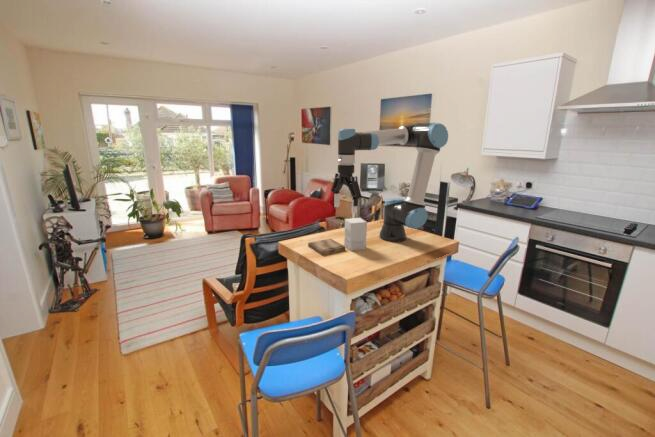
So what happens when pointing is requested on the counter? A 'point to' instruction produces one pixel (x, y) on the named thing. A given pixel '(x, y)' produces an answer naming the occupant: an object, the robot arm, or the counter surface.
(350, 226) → the supplement box
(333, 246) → the walnut stand
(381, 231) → the robot arm
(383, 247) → the counter surface
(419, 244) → the counter surface
